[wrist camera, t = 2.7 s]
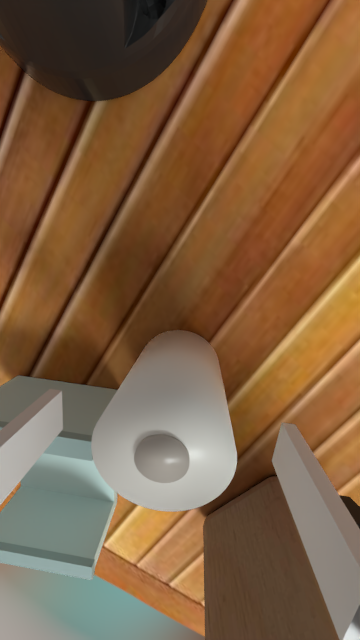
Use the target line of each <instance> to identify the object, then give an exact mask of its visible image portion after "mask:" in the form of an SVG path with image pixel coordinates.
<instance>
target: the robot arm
mask: <svg viewBox="0 0 360 640" xmlns="http://www.w3.org/2000/svg"><path fill="white" fill-rule="evenodd" d="M206 2H207V0H0V46H1V47H2V48H3V49H4V50H5V51H6V53H7V54H8V55H9V56H10V57H11V58H12V59H13V60H14V61H15V62H16V63H17V65H18V66H20V67H21V68H22V69H23V70H24V71H25V72H26V73H27V74H28V75H29V76H31V77H32V78H33V79H34V80H36V81H37V82H39V83H40V84H42V85H43V86H45V87H46V88H48V89H50V90H52V91H54V92H56V93H59V94H61V95H64V96H67V97H70V98H74V99H79V100H87V101H101V100H109V99H114V98H118V97H122V96H124V95H127V94H130V93H132V92H134V91H136V90H138V89H140V88H142V87H143V86H145V85H146V84H148V83H149V82H151V81H152V80H153V79H155V78H156V77H157V76H158V75H160V74H161V73H162V72H163V71H164V70H165V69H166V68H167V67H168V66H169V65H170V64H171V63H172V61H173V60H174V59H175V58H176V57H177V55H178V54H179V53H180V52H181V50H182V49H183V47H184V46H185V44H186V43H187V41H188V40H189V38H190V36H191V35H192V33H193V31H194V29H195V27H196V25H197V23H198V21H199V19H200V17H201V15H202V12H203V10H204V8H205V5H206ZM62 430H63V408H62V391H61V390H54V389H49V390H48V391H47V392H45V393H44V394H43V395H42V396H41V397H39V398H38V399H37V400H36V401H35V402H33V403H32V404H31V405H30V406H29V407H27V408H26V409H25V410H24V411H23V412H21V413H20V414H19V415H18V416H17V417H15V418H14V419H13V420H12V421H11V422H9V423H8V424H7V425H6V426H5V427H3V428H2V429H1V430H0V505H1V504H2V502H3V501H4V500H5V499H6V497H7V496H8V495H9V494H10V493H11V491H12V490H13V489H14V488H15V487H16V485H17V484H18V483H19V482H20V481H21V479H22V478H23V477H24V476H25V474H26V473H27V472H28V471H29V470H30V468H31V467H32V466H33V465H34V464H35V462H36V461H37V460H38V459H39V457H40V456H41V455H42V454H43V453H44V451H45V450H46V449H47V448H48V447H49V445H50V444H51V443H52V442H53V440H54V439H55V438H56V437H57V436H58V434H59V433H60V432H61V431H62ZM272 463H273V466H274V468H275V471H276V474H277V476H278V479H279V482H280V484H281V487H282V490H283V492H284V495H285V497H286V500H287V503H288V505H289V508H290V511H291V513H292V516H293V519H294V521H295V524H296V526H297V529H298V532H299V534H300V537H301V540H302V542H303V545H304V548H305V550H306V553H307V555H308V558H309V561H310V563H311V566H312V569H313V571H314V574H315V577H316V579H317V582H318V584H319V587H320V590H321V592H322V595H323V598H324V600H325V603H326V605H327V608H328V611H329V613H330V616H331V619H332V621H333V624H334V627H335V629H336V632H337V634H338V637H339V640H360V507H359V506H358V505H357V504H356V503H355V502H354V501H353V500H352V499H351V498H350V497H346V496H340V495H338V493H337V491H336V490H335V488H334V486H333V485H332V483H331V482H330V480H329V478H328V477H327V475H326V473H325V472H324V470H323V469H322V467H321V465H320V464H319V462H318V460H317V459H316V457H315V456H314V454H313V452H312V451H311V449H310V447H309V446H308V444H307V443H306V441H305V439H304V438H303V436H302V435H301V433H300V431H299V430H298V428H297V426H296V425H295V424H289V423H281V427H280V431H279V435H278V439H277V442H276V446H275V450H274V454H273V458H272Z"/></svg>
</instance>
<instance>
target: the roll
mask: <svg viewBox="0 0 360 640" xmlns="http://www.w3.org/2000/svg"><path fill="white" fill-rule="evenodd" d="M91 450H92V456H93V461H94V463H95V466H96V468H97V470H98V472H99V474H100V475H101V477H102V478H103V479H104V481H105V482H106V483H107V484H108V485H109V486H110V487H111V488H112V489H113V490H114V491H115V492H116V493H118V494H119V495H121V496H122V497H124V498H125V499H127V500H129V501H131V502H133V503H135V504H137V505H139V506H143V507H146V508H149V509H153V510H159V511H185V510H190V509H194V508H197V507H200V506H203V505H205V504H207V503H209V502H211V501H212V500H214V499H215V498H217V497H218V496H219V495H221V493H222V492H223V491H224V490H225V489H226V488H227V487H228V485H229V484H230V482H231V480H232V478H233V476H234V474H235V470H236V465H237V451H236V446H235V441H234V436H233V431H232V425H231V420H230V415H229V410H228V405H227V400H226V395H225V390H224V385H223V380H222V375H221V370H220V365H219V360H218V357H217V354H216V352H215V350H214V349H213V347H212V346H211V345H210V344H209V342H208V341H206V340H205V339H204V338H203V337H201V336H199V335H197V334H195V333H193V332H190V331H185V330H171V331H166V332H163V333H161V334H159V335H157V336H155V337H154V338H153V339H151V340H150V341H149V342H148V343H147V345H146V346H145V348H144V349H143V351H142V352H141V354H140V356H139V357H138V359H137V360H136V362H135V363H134V365H133V367H132V368H131V370H130V371H129V373H128V374H127V376H126V378H125V379H124V381H123V382H122V384H121V386H120V387H119V389H118V390H117V392H116V393H115V395H114V397H113V398H112V400H111V401H110V403H109V404H108V406H107V408H106V409H105V411H104V412H103V414H102V416H101V417H100V419H99V420H98V422H97V424H96V426H95V428H94V431H93V435H92V441H91Z"/></svg>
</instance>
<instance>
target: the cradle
mask: <svg viewBox="0 0 360 640" xmlns="http://www.w3.org/2000/svg"><path fill="white" fill-rule="evenodd" d="M49 389H54V390H61V391H62V408H63V430H62V431H61V432H60V433H59V434H58V436H57V437H56V438H55V439H54V440H53V442H52V443H51V444H50V445H49V447H48V448H47V449H46V450H45V451H44V453H43V454H42V455H41V456H40V457H39V459H38V460H37V461H36V462H35V464H34V465H33V466H32V467H31V468H30V470H29V471H28V472H27V473H26V474H25V476H24V477H23V478H22V479H21V487H20V488H19V489H18V491H17V492H16V493H15V494H14V496H13V497H12V498H11V499H10V501H9V502H8V503H7V505H6V506H5V507H4V508H3V510H2V511H1V512H0V563H6V564H10V565H15V566H21V567H26V568H31V569H37V570H41V571H47V572H52V573H57V574H62V575H67V576H72V577H78V578H83V579H88V580H92V578H93V576H94V573H95V566H96V563H97V560H98V557H99V554H100V551H101V548H102V545H103V542H104V539H105V536H106V533H107V530H108V527H109V525H110V522H111V519H112V516H113V513H114V510H115V507H116V504H117V493H116V492H115V491H114V490H113V489H112V488H111V487H110V486H109V485H108V484H107V483H106V482H105V481H104V479H103V478H102V477H101V475H100V474H99V472H98V470H97V468H96V466H95V463H94V461H93V456H92V450H91V441H92V435H93V431H94V428H95V426H96V424H97V422H98V420H99V419H100V417H101V416H102V414H103V412H104V411H105V409H106V408H107V406H108V404H109V403H110V401H111V400H112V398H113V397H114V395H115V393H116V392H117V390H116V389H109V388H102V387H95V386H88V385H81V384H74V383H68V382H61V381H54V380H47V379H40V378H33V377H26V376H19V375H18V376H16V377H14V378H13V379H11V380H10V381H8V382H7V383H5V384H3V385H2V386H0V430H1V429H2V428H3V427H5V426H6V425H7V424H8V423H9V422H11V421H12V420H13V419H14V418H15V417H17V416H18V415H19V414H20V413H21V412H23V411H24V410H25V409H26V408H27V407H29V406H30V405H31V404H32V403H33V402H35V401H36V400H37V399H38V398H39V397H41V396H42V395H43V394H44V393H45V392H47V391H48V390H49Z"/></svg>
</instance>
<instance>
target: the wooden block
mask: <svg viewBox="0 0 360 640" xmlns="http://www.w3.org/2000/svg"><path fill="white" fill-rule="evenodd" d="M203 536H204V596H205V640H339V637H338V634H337V632H336V629H335V627H334V624H333V621H332V619H331V616H330V613H329V611H328V608H327V605H326V603H325V600H324V598H323V595H322V592H321V590H320V587H319V584H318V582H317V579H316V577H315V574H314V571H313V569H312V566H311V563H310V561H309V558H308V555H307V553H306V550H305V548H304V545H303V542H302V540H301V537H300V534H299V532H298V529H297V526H296V524H295V521H294V519H293V516H292V513H291V511H290V508H289V505H288V503H287V500H286V497H285V495H284V492H283V490H282V487H281V484H280V482H279V479H278V477H276V476H274V477H269V478H267V479H266V480H264V481H263V482H261V483H259V484H258V485H256V486H255V487H253V488H251V489H250V490H248V491H246V492H245V493H243V494H242V495H240V496H238V497H237V498H235V499H234V500H232V501H230V502H229V503H227V504H226V505H224V506H222V507H221V508H219V509H218V510H216V511H214V512H213V513H211V514H210V515H208V516H207V518H206V519H205V522H204V526H203Z"/></svg>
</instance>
